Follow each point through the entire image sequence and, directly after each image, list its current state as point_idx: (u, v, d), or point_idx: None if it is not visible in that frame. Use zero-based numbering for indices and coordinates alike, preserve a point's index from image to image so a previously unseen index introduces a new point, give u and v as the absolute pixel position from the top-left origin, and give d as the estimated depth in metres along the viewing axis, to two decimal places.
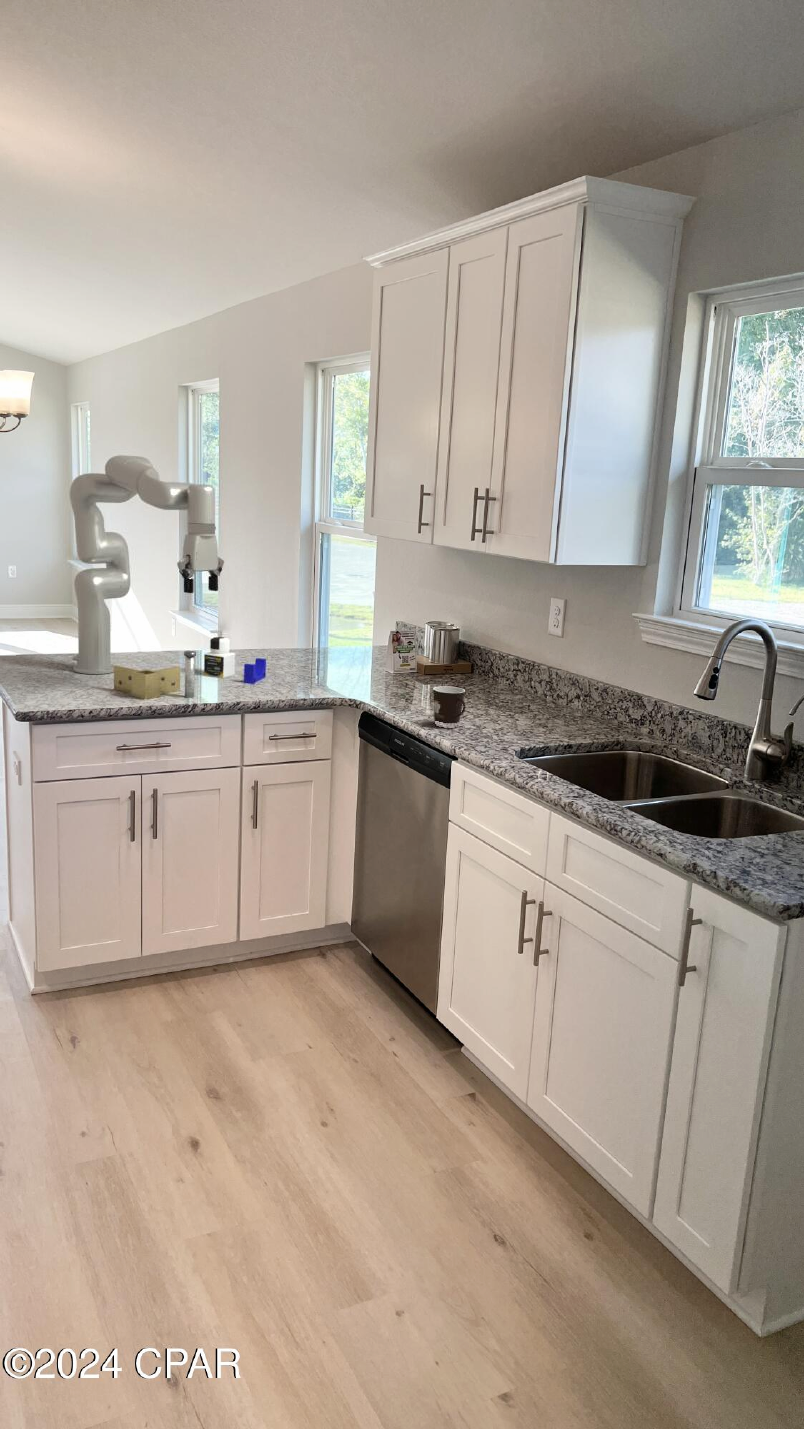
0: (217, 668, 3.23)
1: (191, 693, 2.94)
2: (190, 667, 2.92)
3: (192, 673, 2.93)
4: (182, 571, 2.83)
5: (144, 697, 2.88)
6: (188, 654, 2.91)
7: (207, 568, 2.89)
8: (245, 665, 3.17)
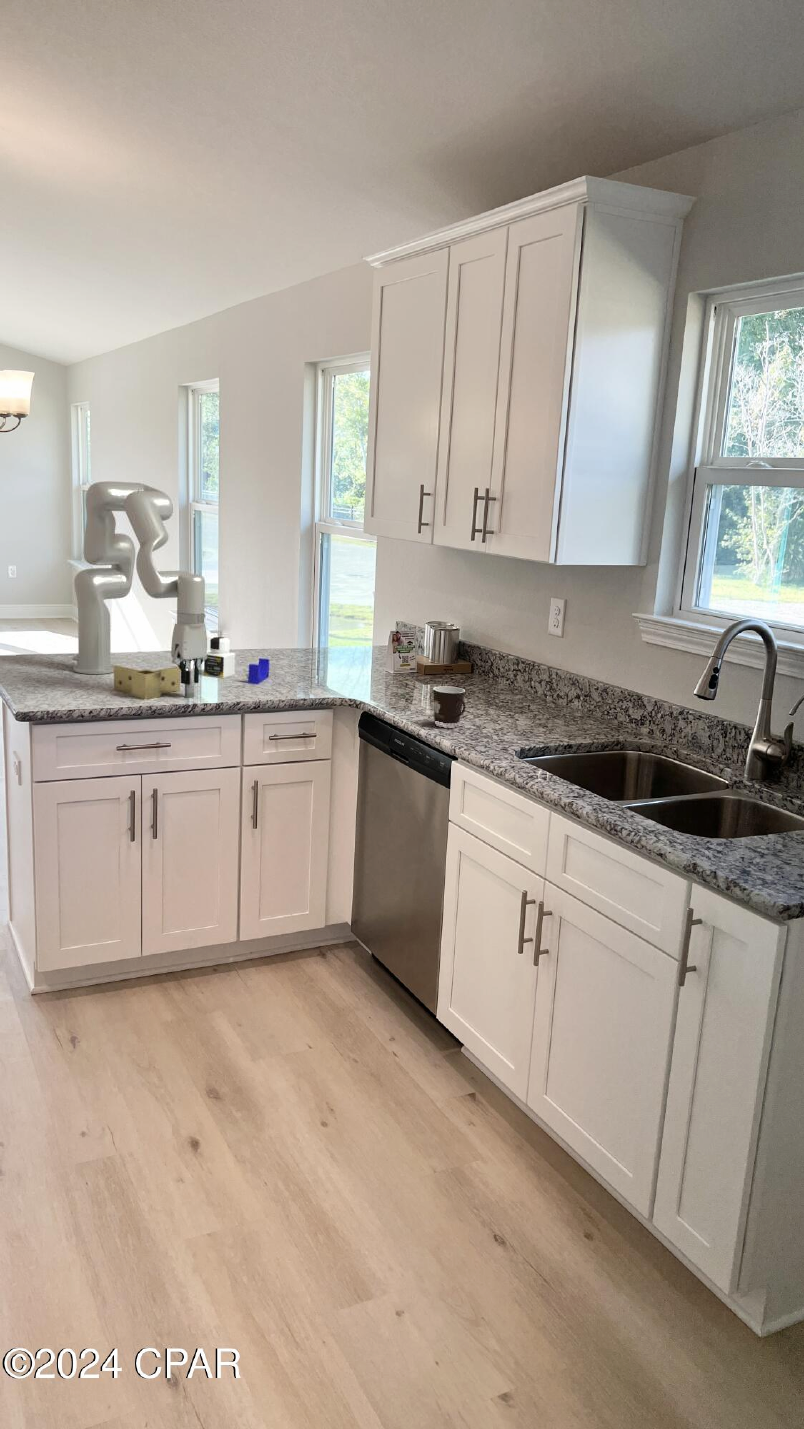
0: (217, 668, 3.23)
1: (191, 693, 2.94)
2: (190, 667, 2.92)
3: (192, 673, 2.93)
4: (179, 665, 2.89)
5: (144, 697, 2.88)
6: None
7: (196, 656, 2.92)
8: (250, 665, 3.17)
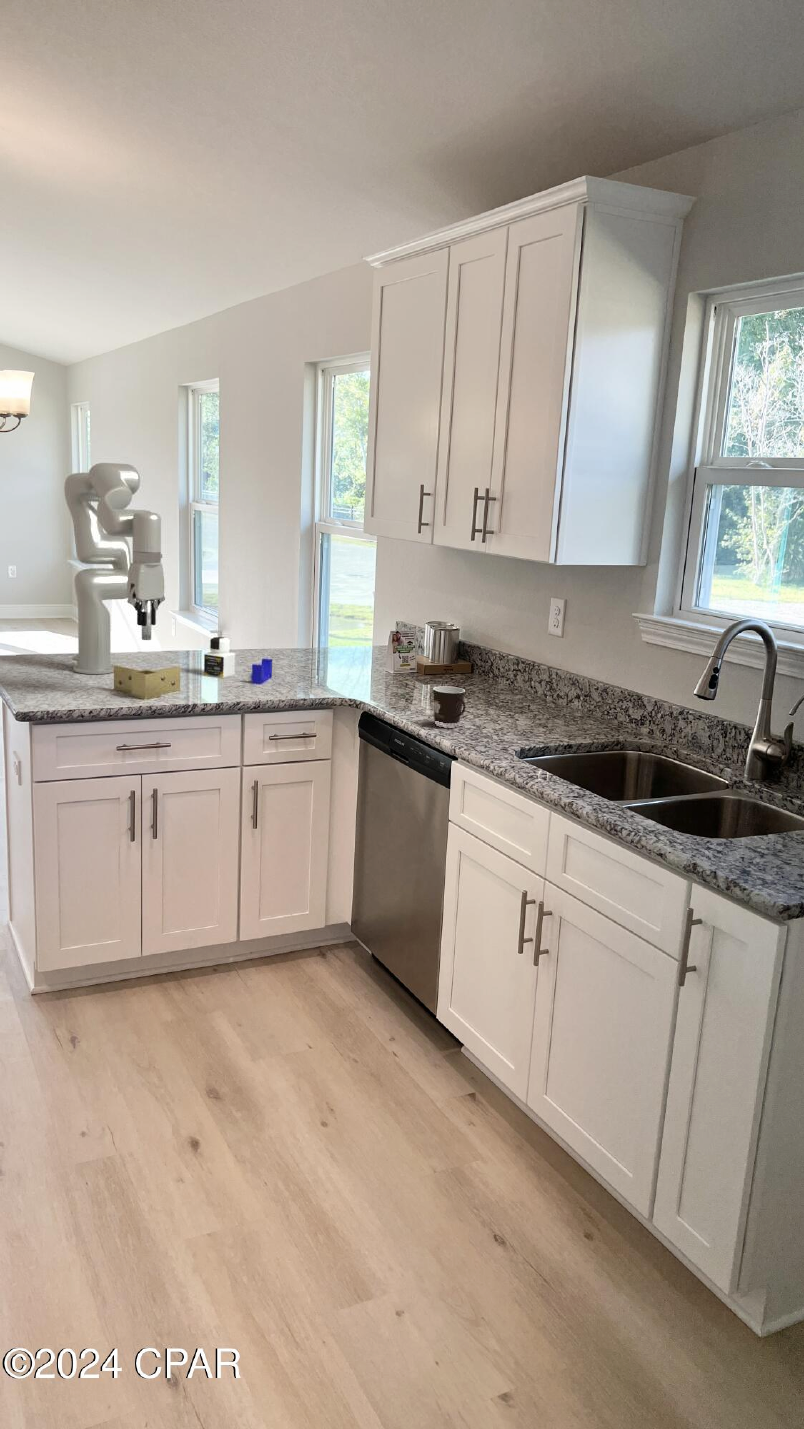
0: (217, 668, 3.23)
1: (148, 635, 2.87)
2: (147, 608, 2.85)
3: (149, 614, 2.86)
4: (135, 605, 2.82)
5: (144, 697, 2.88)
6: None
7: (152, 597, 2.85)
8: (253, 666, 3.17)
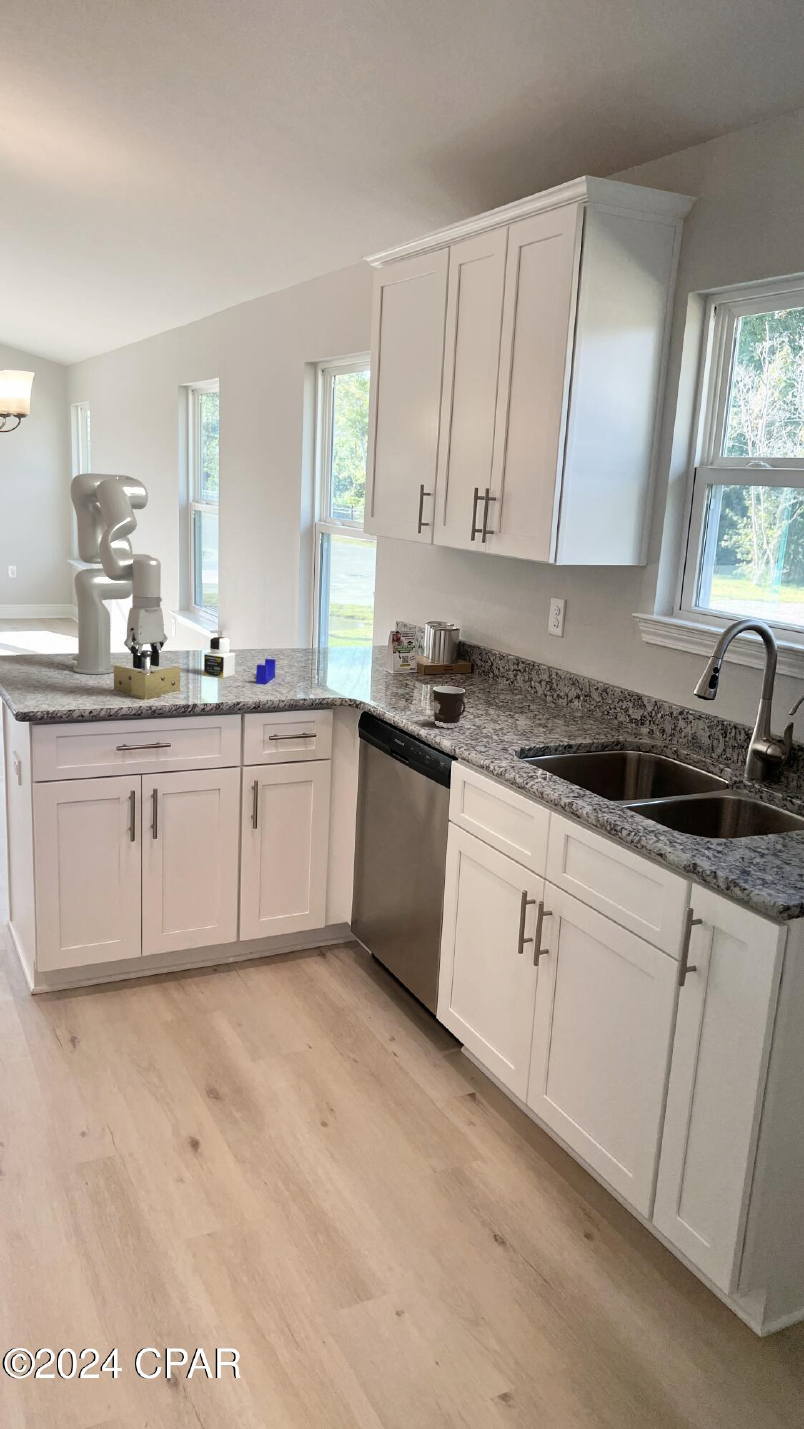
0: (217, 668, 3.23)
1: None
2: (146, 667, 2.89)
3: (148, 672, 2.90)
4: (131, 648, 2.84)
5: (144, 697, 2.88)
6: (143, 653, 2.88)
7: (152, 641, 2.88)
8: (257, 666, 3.17)
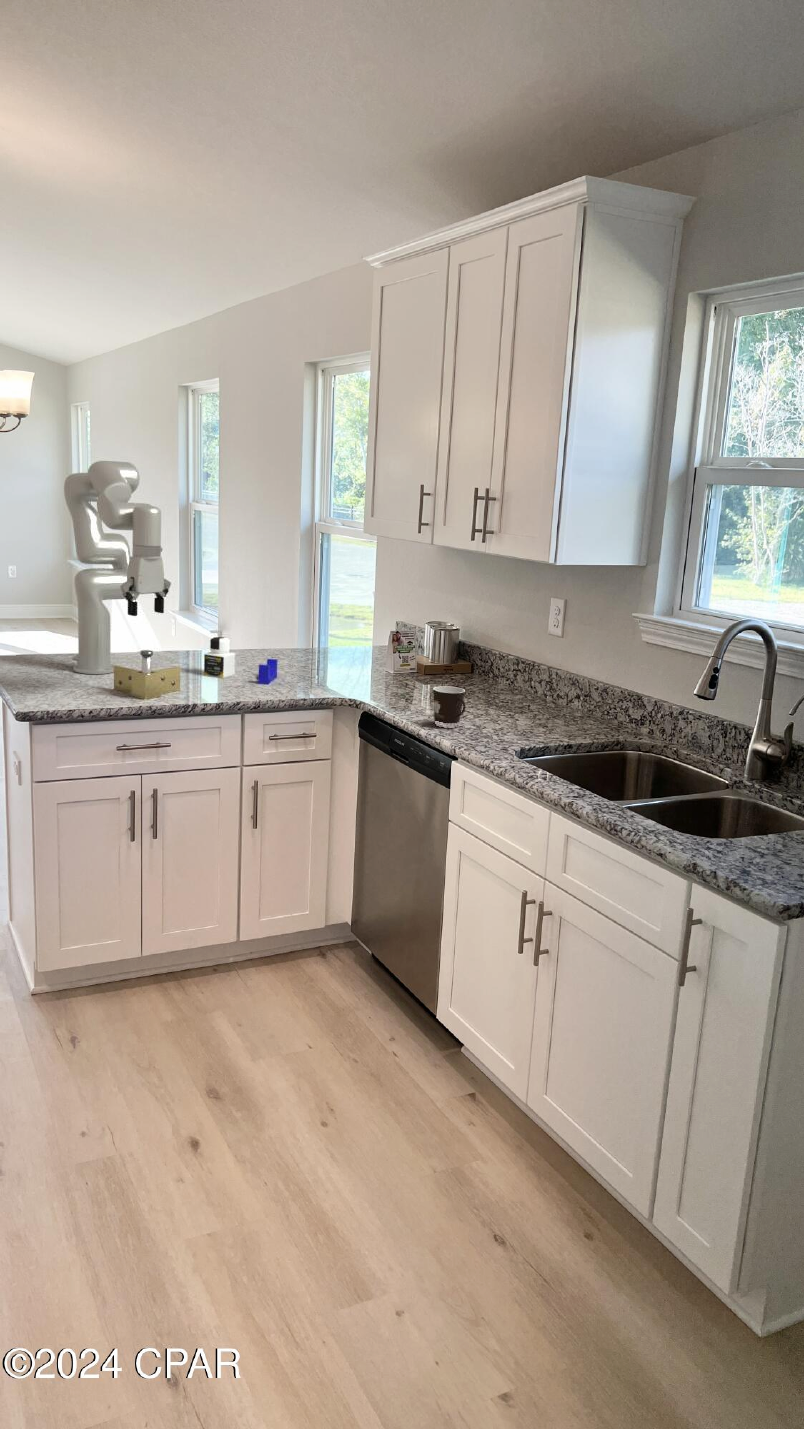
0: (217, 668, 3.23)
1: None
2: (147, 667, 2.89)
3: (149, 673, 2.90)
4: (125, 594, 2.79)
5: (144, 697, 2.88)
6: (144, 653, 2.88)
7: (152, 590, 2.85)
8: (260, 666, 3.17)
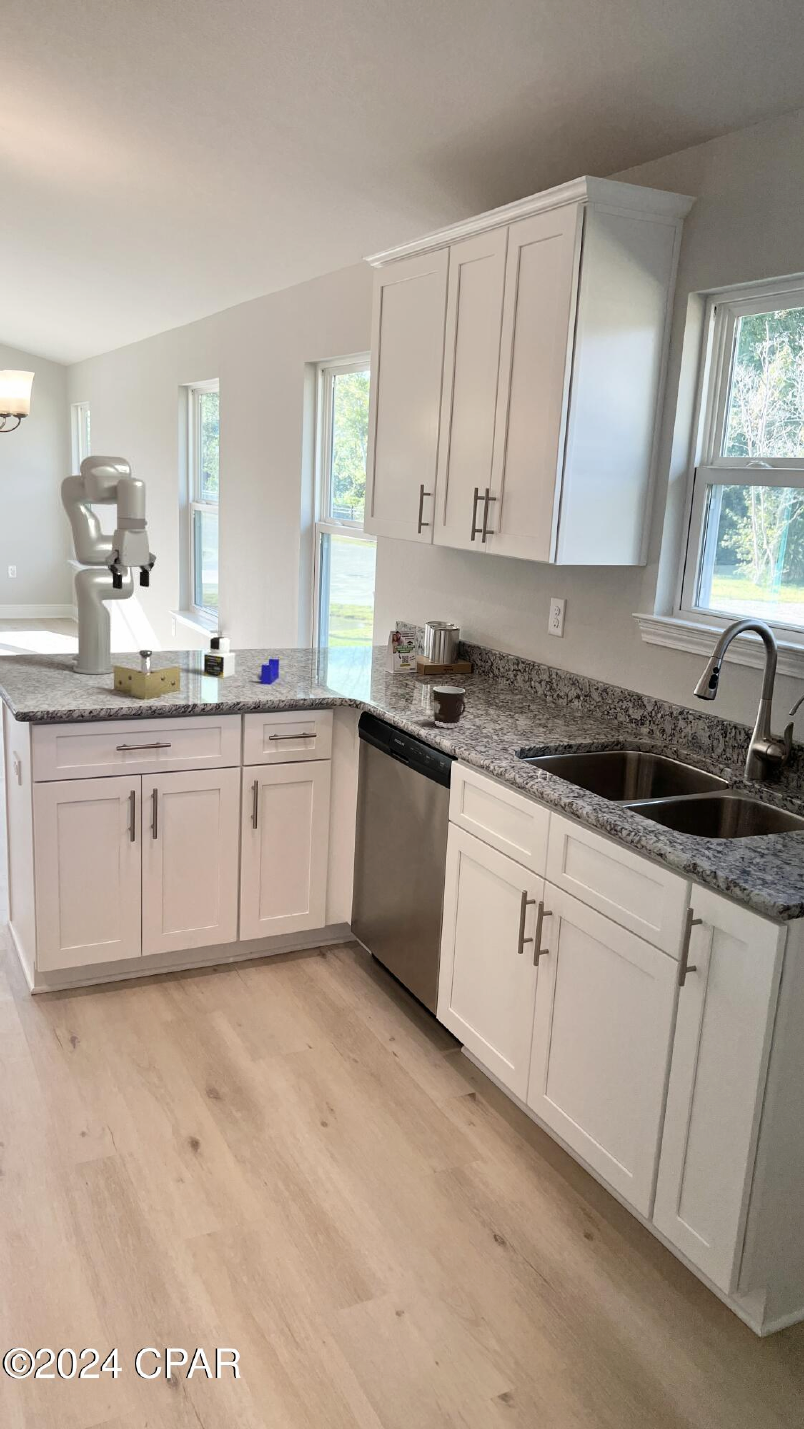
0: (217, 668, 3.23)
1: None
2: (146, 667, 2.89)
3: (148, 672, 2.90)
4: (110, 566, 2.79)
5: (144, 697, 2.88)
6: (144, 653, 2.88)
7: (137, 564, 2.85)
8: (262, 666, 3.17)
